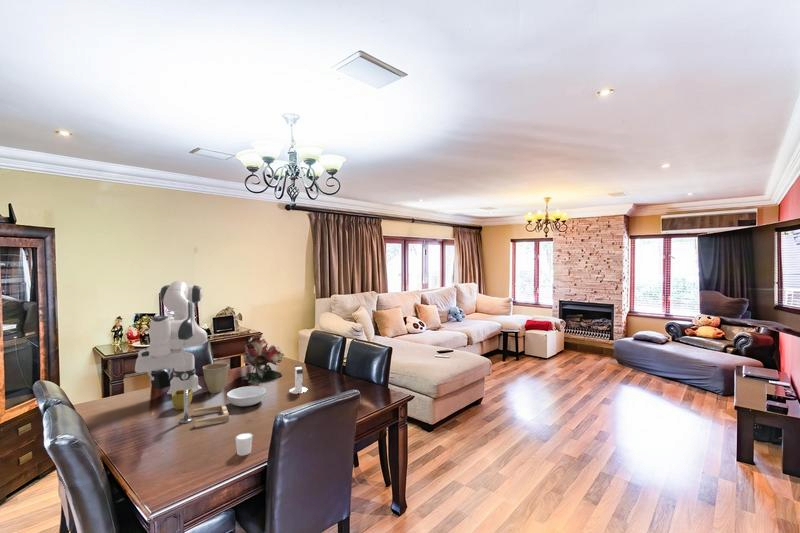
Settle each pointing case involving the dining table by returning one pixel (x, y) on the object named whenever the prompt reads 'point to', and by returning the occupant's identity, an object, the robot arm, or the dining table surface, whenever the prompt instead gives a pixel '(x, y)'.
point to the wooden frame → (211, 419)
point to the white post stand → (298, 381)
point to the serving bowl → (246, 395)
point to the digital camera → (160, 379)
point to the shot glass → (243, 443)
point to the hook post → (186, 410)
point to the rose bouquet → (261, 359)
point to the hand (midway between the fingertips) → (160, 379)
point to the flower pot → (181, 398)
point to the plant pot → (215, 376)
